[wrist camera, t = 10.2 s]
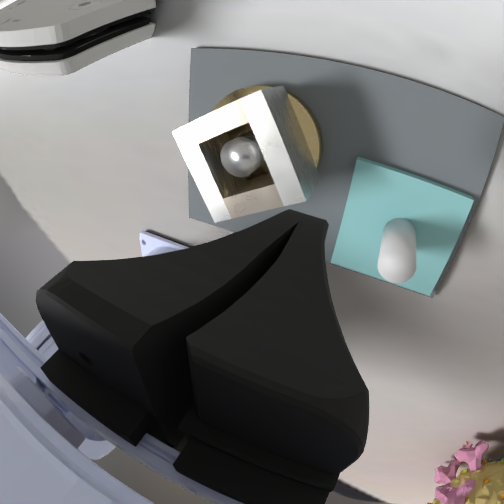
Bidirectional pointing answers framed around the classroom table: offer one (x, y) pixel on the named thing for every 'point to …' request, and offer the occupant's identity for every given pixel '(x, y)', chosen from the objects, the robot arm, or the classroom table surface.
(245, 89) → the hub
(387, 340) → the classroom table surface
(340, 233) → the stand
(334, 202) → the board
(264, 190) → the hollow square metal tube
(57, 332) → the robot arm
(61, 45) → the hinge
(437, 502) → the educational model
